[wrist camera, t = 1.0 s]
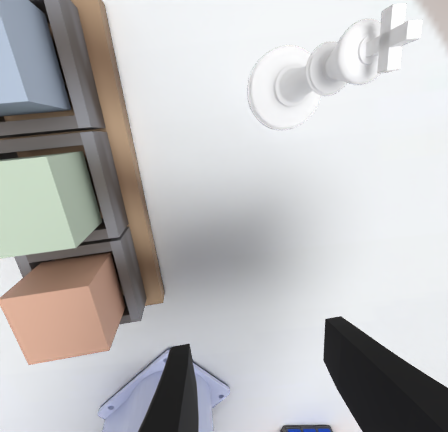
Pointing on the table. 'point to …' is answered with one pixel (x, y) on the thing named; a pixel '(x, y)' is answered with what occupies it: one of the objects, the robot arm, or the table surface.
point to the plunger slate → (28, 62)
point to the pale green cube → (45, 204)
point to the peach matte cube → (65, 308)
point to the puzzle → (306, 429)
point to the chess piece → (327, 68)
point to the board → (93, 150)
